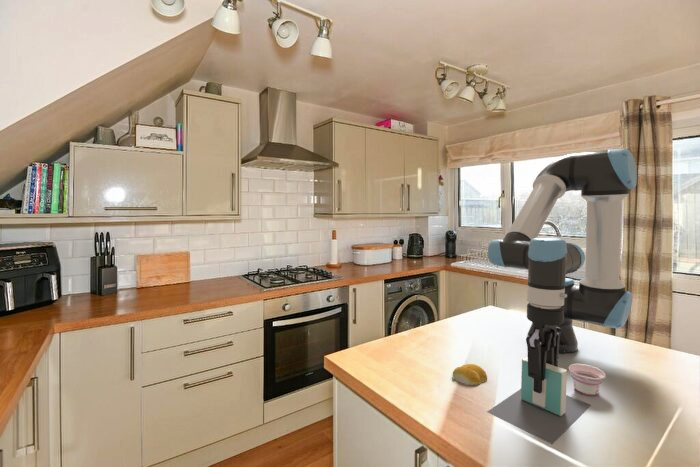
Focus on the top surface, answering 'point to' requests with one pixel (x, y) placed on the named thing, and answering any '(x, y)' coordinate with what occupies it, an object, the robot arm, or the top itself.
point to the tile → (547, 387)
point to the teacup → (586, 378)
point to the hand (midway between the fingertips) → (542, 401)
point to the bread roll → (470, 374)
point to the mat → (538, 416)
